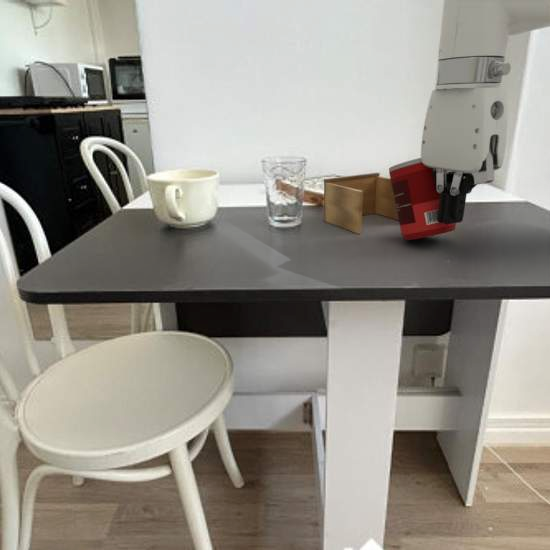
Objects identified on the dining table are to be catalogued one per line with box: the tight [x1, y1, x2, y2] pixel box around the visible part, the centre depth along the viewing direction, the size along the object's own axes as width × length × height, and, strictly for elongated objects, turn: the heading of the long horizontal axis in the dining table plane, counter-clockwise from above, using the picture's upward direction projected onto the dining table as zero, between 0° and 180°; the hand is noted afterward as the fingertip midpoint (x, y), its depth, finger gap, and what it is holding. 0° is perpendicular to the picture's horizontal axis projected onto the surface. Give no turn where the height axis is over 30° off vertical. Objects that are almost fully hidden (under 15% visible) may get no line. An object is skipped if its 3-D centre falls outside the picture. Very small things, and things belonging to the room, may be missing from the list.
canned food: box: [388, 157, 457, 241], centre depth 65 cm, size 8×8×11 cm
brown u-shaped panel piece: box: [323, 172, 399, 235], centre depth 77 cm, size 11×12×8 cm
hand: (449, 221), depth 60 cm, fingers closed
